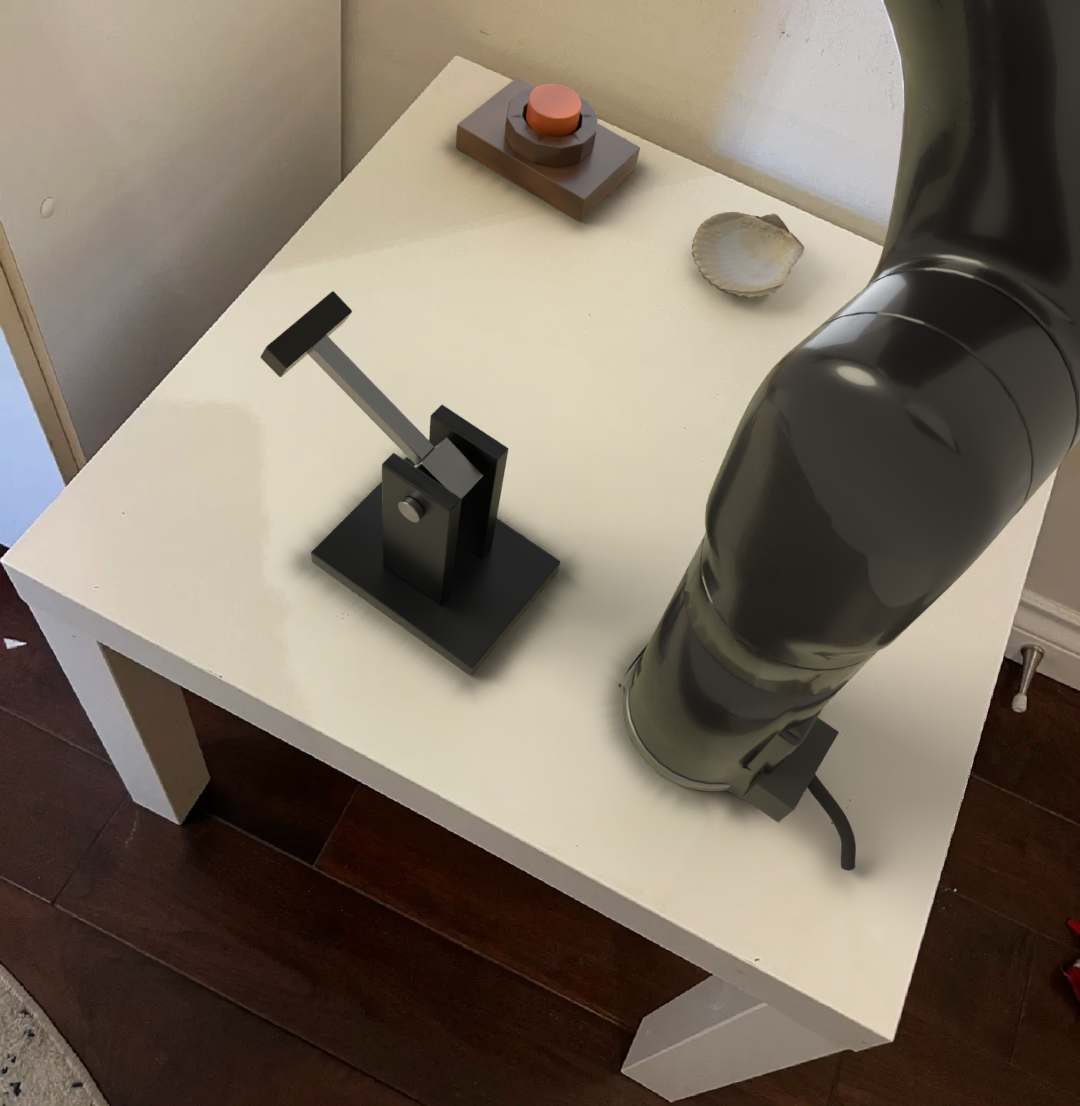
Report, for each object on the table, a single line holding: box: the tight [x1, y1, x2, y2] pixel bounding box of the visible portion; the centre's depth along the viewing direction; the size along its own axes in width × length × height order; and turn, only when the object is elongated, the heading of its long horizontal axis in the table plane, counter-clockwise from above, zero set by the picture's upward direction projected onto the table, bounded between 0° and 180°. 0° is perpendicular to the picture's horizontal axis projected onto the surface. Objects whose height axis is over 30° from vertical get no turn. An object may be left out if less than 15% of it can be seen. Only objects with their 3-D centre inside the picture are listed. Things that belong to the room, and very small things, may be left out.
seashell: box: [691, 211, 805, 299], centre depth 78 cm, size 8×3×8 cm
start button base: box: [455, 77, 641, 223], centre depth 81 cm, size 12×8×4 cm, turn 55°
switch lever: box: [260, 290, 483, 499], centre depth 54 cm, size 12×5×2 cm, turn 55°
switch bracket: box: [310, 404, 562, 677], centre depth 58 cm, size 12×9×12 cm
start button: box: [526, 83, 581, 137], centre depth 79 cm, size 4×4×2 cm
